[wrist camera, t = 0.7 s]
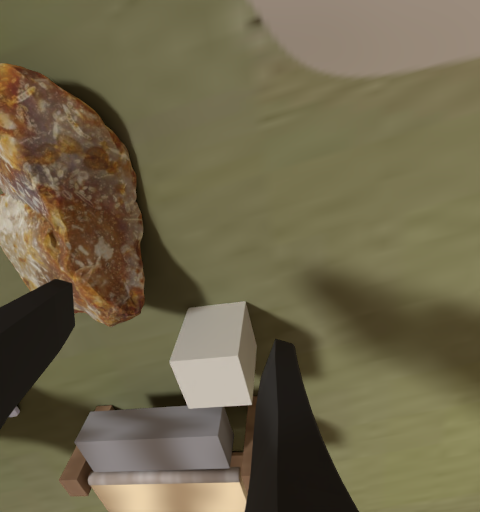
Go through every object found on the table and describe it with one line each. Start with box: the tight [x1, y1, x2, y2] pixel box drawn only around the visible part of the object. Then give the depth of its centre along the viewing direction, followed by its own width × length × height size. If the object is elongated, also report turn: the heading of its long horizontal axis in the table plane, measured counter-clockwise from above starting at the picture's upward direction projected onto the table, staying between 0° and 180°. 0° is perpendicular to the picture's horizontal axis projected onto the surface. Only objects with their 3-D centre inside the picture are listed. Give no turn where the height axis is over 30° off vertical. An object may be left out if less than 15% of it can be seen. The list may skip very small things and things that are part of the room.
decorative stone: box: [0, 63, 145, 327], centre depth 20 cm, size 10×4×15 cm
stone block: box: [169, 301, 257, 409], centre depth 24 cm, size 4×4×5 cm
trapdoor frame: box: [59, 396, 257, 496], centre depth 31 cm, size 15×14×6 cm
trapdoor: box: [74, 406, 248, 512], centre depth 27 cm, size 11×10×3 cm
